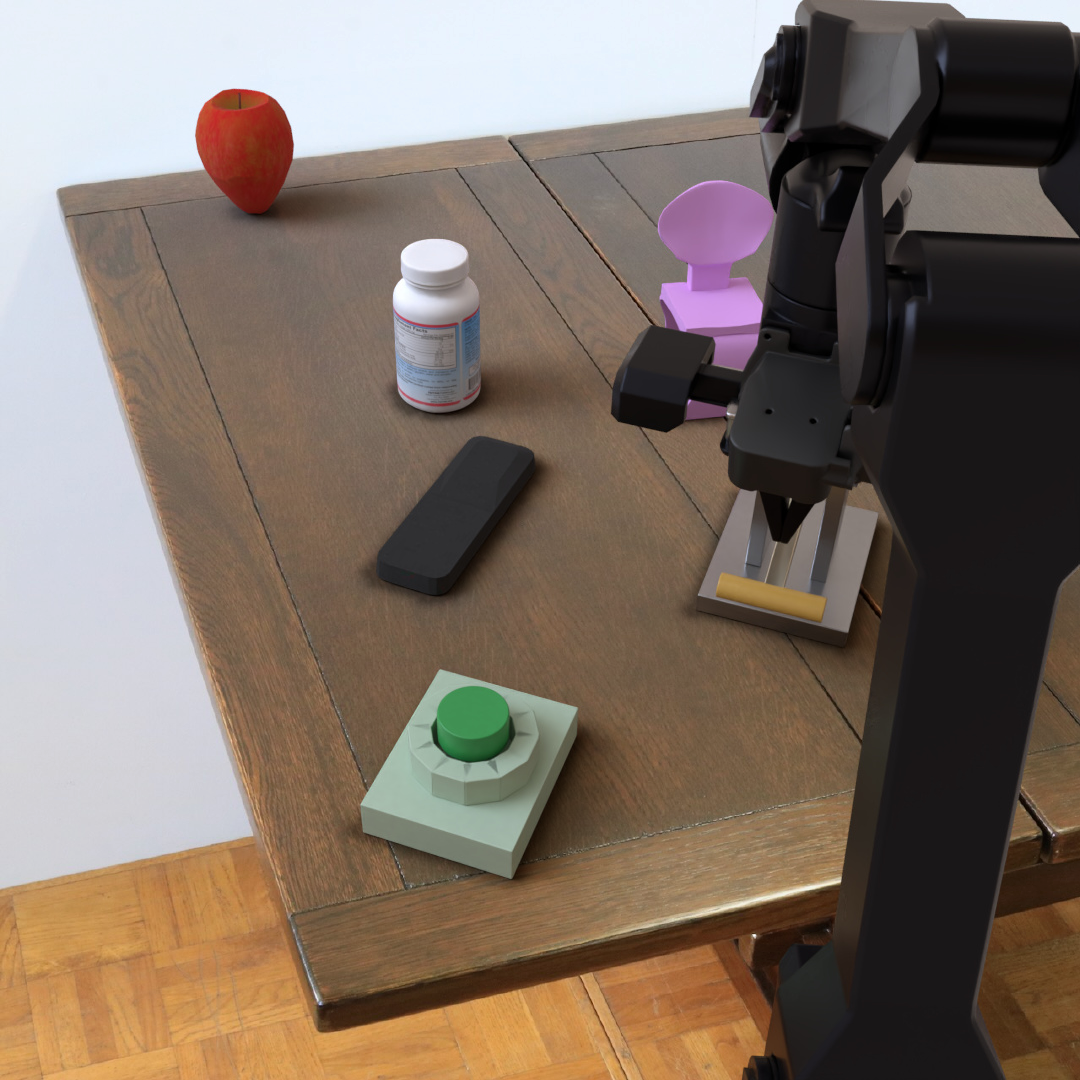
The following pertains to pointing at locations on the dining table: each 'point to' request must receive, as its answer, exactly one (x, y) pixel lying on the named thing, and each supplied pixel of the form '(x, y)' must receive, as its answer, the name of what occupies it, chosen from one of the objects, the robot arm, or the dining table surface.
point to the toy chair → (715, 271)
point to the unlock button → (473, 723)
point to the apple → (245, 146)
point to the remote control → (455, 515)
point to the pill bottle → (437, 327)
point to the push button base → (471, 782)
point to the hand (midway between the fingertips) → (781, 538)
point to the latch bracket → (795, 564)
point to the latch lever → (774, 587)
